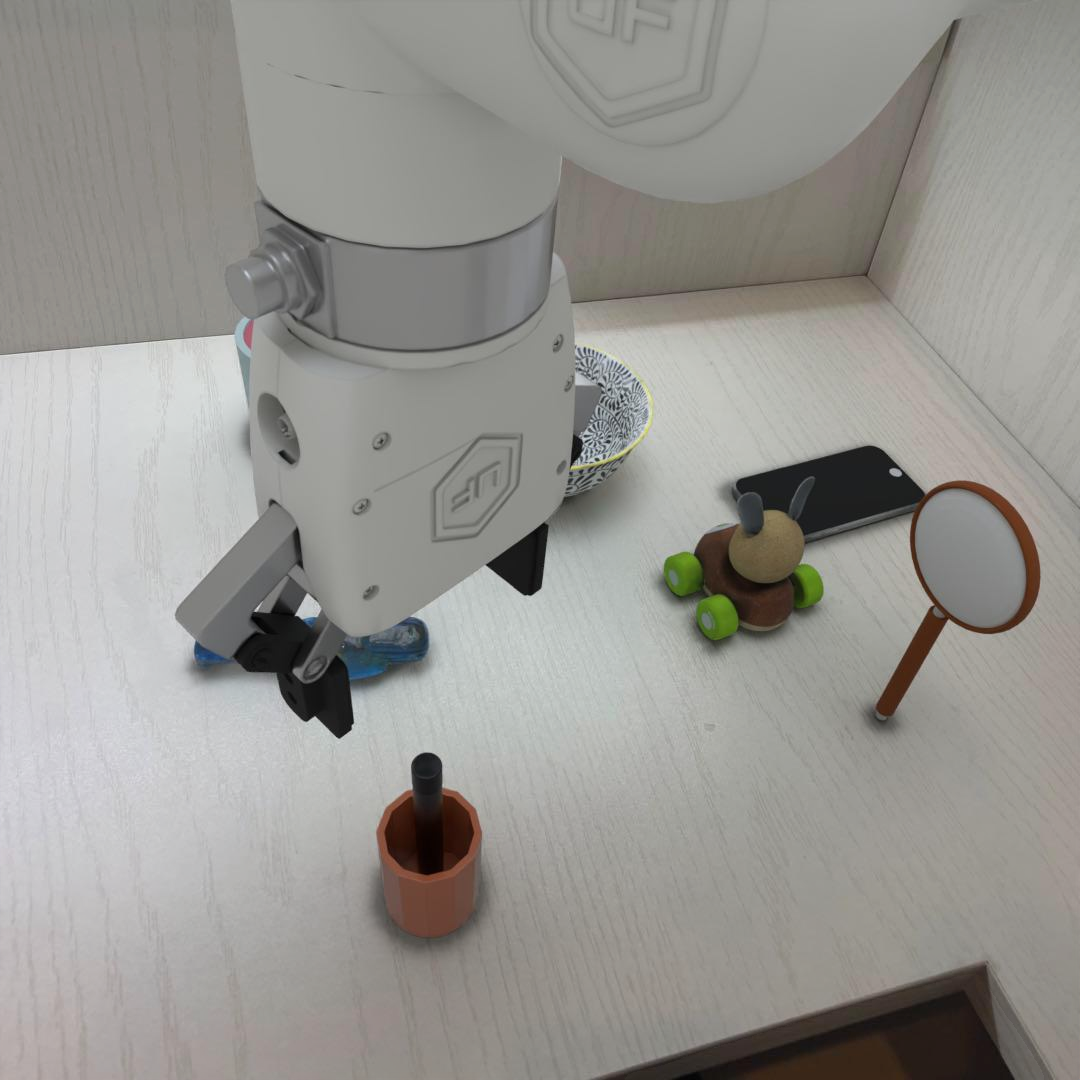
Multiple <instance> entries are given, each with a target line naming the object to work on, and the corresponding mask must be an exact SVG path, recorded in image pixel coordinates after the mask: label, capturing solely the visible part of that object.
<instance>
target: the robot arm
mask: <svg viewBox="0 0 1080 1080" xmlns="http://www.w3.org/2000/svg"><path fill="white" fill-rule="evenodd" d="M229 1H230V8H231V9H230V10H231V14H232V22H233V23H232V24H233V32H234V38H235V39H234V40H235V46H236V52H237V59H238V66H239V73H240V81H241V86H242V94H243V100H244V107H245V113H246V119H247V120H246V122H247V127H248V135H249V140H250V146H251V147H250V148H251V155H252V162H253V168H254V176H255V183H256V184H255V185H256V191H257V199H258V200H256V201H254V202H253V205H254V214H255V221H256V227H257V233H258V240H259V243H258V247H256V248H254V249H251V250H250V252H249V254H248V257H247V258H244V259H242V260H239V261H236V262H234V263H231V264H229V265H227V267H225V270H224V280H225V285H226V289H227V292H228V295H229V296H230V298H231V300H232V302H233V304H234V305H235V307H236V308H237V310H238V311H239V313H241V314H242V315H243V317H244V316H245V317H247V318H248V319H251V320H254V324H253V334H252V343H251V359H250V378H249V409H248V418H249V419H248V420H249V421H248V422H249V443H250V445H249V446H250V456H251V467H252V479H253V488H254V494H255V495H254V496H255V502H256V510H257V516H258V519H257V520H256V521H255V522H254V524H253V525H251V527H250V528H249V529H248V530H247V531H246V532H245V533H244V534H243V536H241V538H240V539H239V540H237V542H236V543H235V544H234V545H233V546H232V547H231V548H230V549H229V551H227V553H226V554H225V555H224V556H223V557H222V558H221V559H220V560H219V561H218V563H216V564H215V566H214V567H212V569H211V570H210V571H209V572H208V573H207V574H206V575H205V576H204V577H203V579H202V580H201V581H200V582H198V584H197V585H196V586H195V587H194V588H193V589H192V591H190V593H189V594H187V596H186V597H185V598H184V599H183V600H182V601H181V603H180V604H179V605H178V606H177V608H176V610H175V613H174V616H175V621H176V622H178V624H179V625H180V626H181V627H182V628H183V629H184V630H185V631H186V632H187V633H188V635H190V636H191V637H192V638H193V639H194V640H196V641H197V642H198V643H199V644H200V645H201V646H202V647H204V648H206V649H208V650H210V651H212V652H214V653H216V654H218V655H220V656H222V657H223V658H225V659H227V660H232V661H234V662H236V663H235V664H238V665H239V666H240V667H241V668H242V669H243V670H244V671H245V672H248V673H261V674H262V673H263V674H276V678H277V682H278V688H279V692H280V695H281V697H282V699H283V701H284V702H285V703H286V705H287V706H288V708H289V709H290V710H291V711H292V712H293V713H294V714H295V715H296V716H297V717H298V718H299V719H300V720H302V722H305V723H308V722H309V721H311V720H312V719H313V718H316V719H317V720H318V721H319V722H320V723H321V724H322V725H323V726H324V727H325V728H326V729H327V730H328V731H329V732H330V733H331V734H332V735H333V736H334V737H336V738H337V739H339V740H341V739H342V738H343V737H344V736H346V735H347V734H348V733H350V732H351V731H352V730H353V725H354V724H355V717H354V710H353V709H354V708H353V701H352V691H351V682H350V680H349V674H348V668H347V666H346V664H345V663H344V662H343V661H342V660H341V659H340V658H339V657H338V656H337V655H336V654H337V652H338V650H339V649H340V647H341V645H342V643H343V641H344V640H345V638H346V636H347V634H348V635H350V636H352V637H362V636H368V635H372V634H375V633H379V632H382V631H384V630H386V629H389V628H391V627H393V626H395V625H397V624H398V623H400V622H402V621H403V620H405V619H407V618H408V617H412V616H413V615H414V614H416V613H417V612H419V611H420V610H422V609H424V608H425V607H426V606H428V605H429V604H430V603H433V602H434V601H435V600H437V599H438V598H440V597H441V596H442V595H444V594H445V593H447V592H448V591H450V590H452V589H453V588H454V587H456V586H458V585H459V584H460V583H461V582H463V581H465V580H466V579H468V578H469V577H470V576H472V575H473V574H474V573H476V572H478V571H479V570H480V569H482V568H483V567H485V566H486V567H487V569H489V570H491V571H493V573H495V574H496V575H497V576H498V577H500V578H501V579H502V580H503V581H505V582H506V583H507V584H508V585H510V586H511V587H512V588H514V590H516V591H517V592H518V593H520V594H521V595H523V596H525V597H526V596H528V597H532V596H533V595H535V594H536V593H538V592H539V591H540V590H541V589H542V588H543V580H544V571H545V562H546V554H547V546H548V537H549V529H550V526H549V524H547V523H546V521H547V520H549V519H551V518H553V517H554V516H555V515H556V514H557V512H558V511H559V510H560V509H561V506H562V505H563V502H564V498H565V497H564V495H565V491H566V487H567V482H568V477H569V470H570V468H571V467H572V465H573V464H574V462H575V461H576V460H577V459H578V458H579V457H580V455H581V453H582V447H583V441H582V439H580V438H579V436H580V434H581V432H585V430H586V428H587V426H588V424H589V422H590V419H591V417H592V415H593V413H594V411H595V408H596V406H597V404H598V402H599V400H600V397H601V394H602V388H601V387H600V386H599V385H597V384H595V383H594V382H592V381H591V380H589V379H588V378H586V377H584V376H583V375H581V374H580V373H578V372H576V371H575V343H576V341H575V323H574V314H573V306H572V305H573V304H572V298H571V292H570V287H569V281H568V276H567V271H566V267H565V264H564V262H563V260H562V259H561V257H560V256H559V255H558V254H557V253H555V251H554V245H555V236H556V225H557V213H558V205H559V204H558V202H559V191H560V182H561V176H562V175H561V174H562V164H563V158H565V159H567V160H569V161H570V162H572V163H574V164H576V165H578V166H579V167H580V168H583V169H585V170H586V171H588V172H590V173H593V174H595V175H597V176H598V177H601V178H603V179H606V180H608V181H610V182H612V183H614V184H617V185H619V186H621V187H624V188H627V189H629V190H633V191H636V192H639V193H642V194H645V195H648V196H651V197H654V198H658V199H664V200H669V201H677V202H685V203H693V204H718V203H725V202H726V203H727V202H734V201H743V200H747V199H752V198H756V197H757V198H758V197H760V196H764V195H766V194H768V193H771V192H774V191H775V190H778V189H781V188H783V187H785V186H788V185H789V184H792V183H794V182H796V181H798V180H800V179H802V178H804V177H807V176H808V175H810V174H811V173H813V172H815V171H816V170H817V169H819V168H821V167H822V166H824V165H825V164H827V163H829V161H830V160H832V159H833V158H834V157H835V156H837V155H838V154H839V153H840V152H841V151H842V150H843V149H845V148H846V147H848V145H849V144H851V143H852V142H853V141H854V140H855V139H856V138H857V137H858V136H860V135H861V134H862V132H863V131H865V129H867V128H868V126H869V125H870V124H871V123H872V122H873V121H874V120H875V119H876V117H877V116H878V115H879V114H880V113H881V111H883V109H885V107H886V106H887V105H888V103H889V102H890V101H891V100H892V99H893V97H894V96H895V95H896V94H897V92H898V91H899V90H900V88H901V87H902V86H903V85H904V83H905V82H906V81H907V79H908V78H909V77H910V76H911V74H912V73H913V72H914V71H915V69H916V68H917V67H918V65H920V63H921V61H922V60H923V59H924V58H925V57H926V55H927V54H928V53H929V52H930V50H932V48H933V47H934V45H935V44H936V43H937V42H938V41H939V40H940V39H941V38H942V36H943V35H944V33H945V32H946V31H947V30H948V28H949V27H950V26H951V24H953V21H956V20H959V19H964V18H968V17H971V16H976V15H980V14H985V13H988V12H989V13H990V12H993V11H997V10H1003V9H1008V8H1015V7H1019V6H1023V5H1028V4H1033V3H1039V2H1043V0H229ZM307 595H309V596H310V597H311V598H312V599H313V600H314V601H316V602H317V604H318V605H319V607H320V612H319V613H318V615H317V616H316V617H317V618H316V620H315V622H314V624H313V626H312V627H309V626H308V625H307V624H306V623H305V622H304V621H303V620H302V619H303V618H301V617H300V616H299V615H297V613H298V611H299V610H300V607H301V605H302V604H303V602H304V600H305V598H306V596H307ZM257 608H258V609H257ZM255 610H256V611H255Z"/></svg>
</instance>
